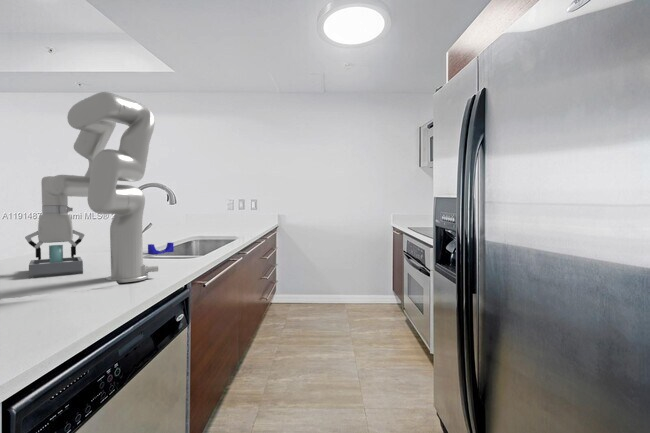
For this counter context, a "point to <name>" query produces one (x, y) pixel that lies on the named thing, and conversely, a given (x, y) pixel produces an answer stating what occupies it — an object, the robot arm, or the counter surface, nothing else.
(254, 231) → the counter surface
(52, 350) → the counter surface
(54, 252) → the teal cylinder
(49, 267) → the walled box
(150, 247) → the cable clip
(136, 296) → the counter surface
